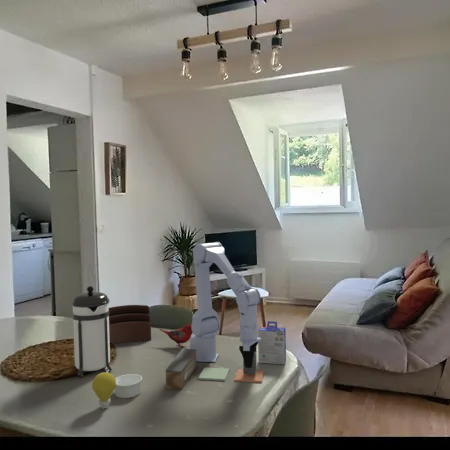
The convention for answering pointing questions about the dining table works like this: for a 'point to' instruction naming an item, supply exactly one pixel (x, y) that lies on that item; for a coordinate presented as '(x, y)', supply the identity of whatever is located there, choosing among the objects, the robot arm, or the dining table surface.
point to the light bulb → (104, 388)
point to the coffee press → (91, 331)
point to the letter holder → (129, 323)
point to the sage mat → (214, 374)
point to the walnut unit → (180, 369)
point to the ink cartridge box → (272, 344)
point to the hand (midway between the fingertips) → (249, 364)
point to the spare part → (250, 370)
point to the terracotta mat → (249, 376)
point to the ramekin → (128, 385)
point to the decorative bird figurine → (180, 334)
